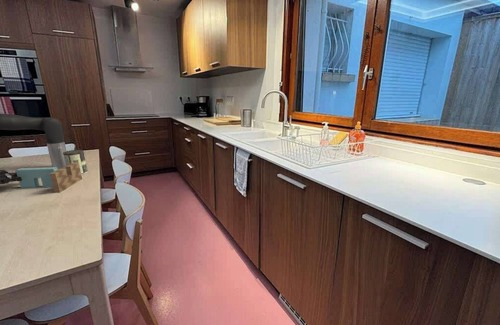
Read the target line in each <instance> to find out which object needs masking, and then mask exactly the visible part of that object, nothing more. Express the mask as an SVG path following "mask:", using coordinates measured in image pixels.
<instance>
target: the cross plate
mask: <svg viewBox="0 0 500 325" xmlns="http://www.w3.org/2000/svg"><path fill="white" fill-rule="evenodd" d="M57 170H59V169H57V167H52V166H48V167H28V168H27V167H25V168H24V167H22V168H18V169H16V170H15V171H16V173H17V176H18V177H21V178H22V181H18V183H19V186H20V189H29V188H31V189H33V188H34V189H35V188H37V187H40V186H41V184H42V188H53V184H52V180H51V176H50V173H53V172H55V171H57ZM39 179H40V180H41V184H40V181H39Z"/></svg>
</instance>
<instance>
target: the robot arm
mask: <svg viewBox="0 0 500 325" xmlns="http://www.w3.org/2000/svg"><path fill="white" fill-rule="evenodd" d="M0 130H1V131H20V130H21V131H22V130H24V131H25V130H36V131H44V134H45V143H46V146H47V151H48V155H49V158H50V163H51V167H57V169H58V170H59V169H66V163H65V159H64V155H63V152H66V151H67V148H66V143H65V135H64V130H63V125H62V122H61V121H60V120H59V119H57V118H55V117H48V116H47V117H32V116H24V115H18V114H13V113H12V114H11V113H3V112H2V113H0ZM19 181H22V178H21V177H18V176H17V173H16V170H15V171H10V172H9V171H7V170H5V169H0V185H6V184H9V183H13V182H19Z"/></svg>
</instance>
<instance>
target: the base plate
mask: <svg viewBox="0 0 500 325" xmlns="http://www.w3.org/2000/svg"><path fill="white" fill-rule="evenodd" d="M50 176H51V180H52V184H53V187H52V188H53V192H54V193H62V192H63V191H65V190H66V189H68V188H70V187H71V186H73V185H74V184H76V183H78V182H80V181H81V180H83V175H81V171H80V166H79V162H76V163H72V164H70V165H68V166H66V168H65V169H58V170H57V171H55V172H53V173H50Z"/></svg>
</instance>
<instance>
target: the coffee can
mask: <svg viewBox="0 0 500 325" xmlns="http://www.w3.org/2000/svg"><path fill="white" fill-rule="evenodd" d="M63 155H64V159H65V163H66V166H68V165H70V164H72V163H76V162H79V166H80V171H81V175H82V176H83V175H86V174H87V173H88V167H87V161H86V157H85V156H86V155H85V152H84V150H83V149H70V150H66V152H63Z"/></svg>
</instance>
